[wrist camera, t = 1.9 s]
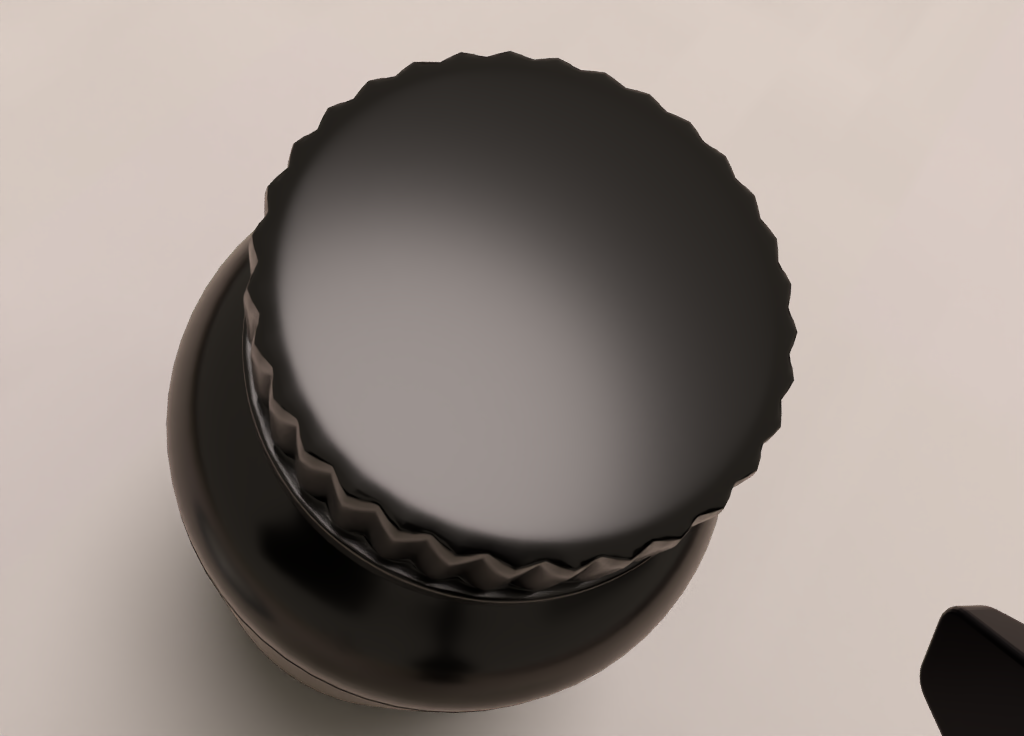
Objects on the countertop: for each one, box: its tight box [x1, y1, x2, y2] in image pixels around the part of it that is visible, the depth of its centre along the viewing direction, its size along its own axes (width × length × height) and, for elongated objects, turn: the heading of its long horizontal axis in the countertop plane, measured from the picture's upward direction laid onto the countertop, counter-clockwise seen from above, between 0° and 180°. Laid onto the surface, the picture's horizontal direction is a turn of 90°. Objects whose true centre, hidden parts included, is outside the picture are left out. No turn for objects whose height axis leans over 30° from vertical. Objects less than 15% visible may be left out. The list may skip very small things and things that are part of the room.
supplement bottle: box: [166, 51, 797, 713], centre depth 13 cm, size 7×7×12 cm
